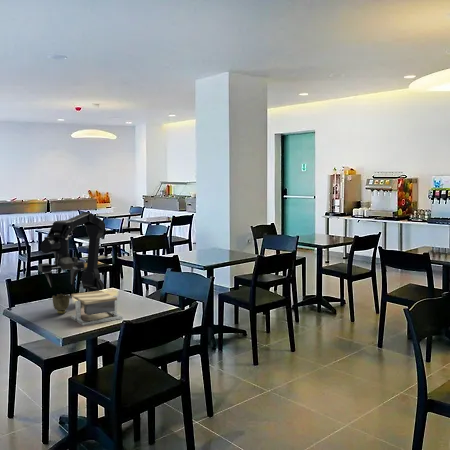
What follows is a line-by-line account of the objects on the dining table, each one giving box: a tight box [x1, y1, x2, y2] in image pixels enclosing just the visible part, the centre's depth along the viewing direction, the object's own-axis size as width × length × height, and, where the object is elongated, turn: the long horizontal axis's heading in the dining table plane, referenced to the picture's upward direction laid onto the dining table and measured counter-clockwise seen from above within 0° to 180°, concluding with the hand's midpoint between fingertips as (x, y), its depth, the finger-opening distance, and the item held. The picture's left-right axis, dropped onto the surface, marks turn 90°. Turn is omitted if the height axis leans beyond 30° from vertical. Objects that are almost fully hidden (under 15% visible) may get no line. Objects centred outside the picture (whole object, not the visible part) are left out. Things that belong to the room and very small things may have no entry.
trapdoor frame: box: [70, 295, 124, 326], centre depth 217 cm, size 13×18×8 cm
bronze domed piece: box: [51, 293, 71, 315], centre depth 223 cm, size 8×7×8 cm
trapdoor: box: [70, 290, 118, 316], centre depth 220 cm, size 16×14×6 cm
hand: (61, 285), depth 222 cm, fingers open, 9 cm apart
